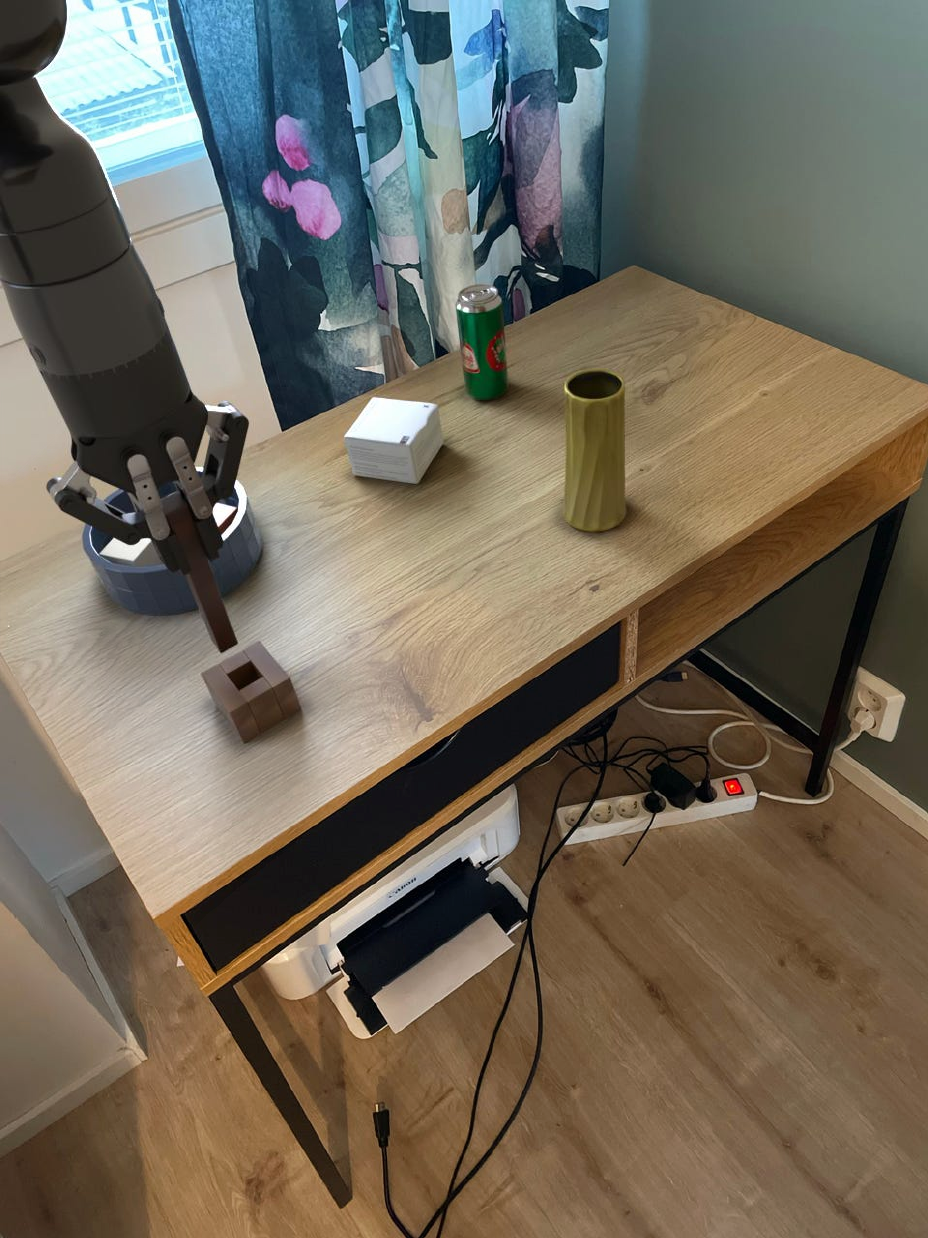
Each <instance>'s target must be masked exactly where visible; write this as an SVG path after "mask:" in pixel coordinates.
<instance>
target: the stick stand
mask: <svg viewBox="0 0 928 1238" xmlns="http://www.w3.org/2000/svg"><path fill="white" fill-rule="evenodd" d="M200 675H201V677H202V680H203V681H204V684H205V686H206V688H207V690H208V692H209V694H210V696H211V698H212V700H213V702H214V705H215V706H216V707H217V709H218V710H219V712H220V713H221V715H222V716H223V717H224V718H225V720H226V721H227V722H228V724H229V726H230V727H231V728H232V730H233V731H234V732H235V734H236V735H237V737H238V738H239V739H240V740H241V742H242V743H243V744H245V743H247V742H248V741H250V740H252V739H254V738H255V737H257V736H258V735H260V734H261V733H264V732H266V731H267V730H268V729H270V728H272V727H274V726H275V725H277V724H278V723H280V722H281V721H283V720H285V719H287V718H289V717H291V716H292V715H294V714H295V713H297V712H299V711H300V710H302V706H301V703H300V700H299V698H298V695H297V693H296V690H295V688H294V685H293V682H292V679H291V677H290V676H289V674H288V673H287V672H286V671H285V670H284V669H283V667H282V666H281V664H280V663H278V661H277V659H275V658H274V656H273V655H272V654H271V653H270V652H269V651H268V649H267V648H266V647H265V645H264V644H263V643H262V642H261V640H257V641H255V642H254V643H252V644H250V645H248V646H246V647H245V648H243V649H242V650H240V651H238V652H236V653H234V654H232V655H231V656H229V657H227V658H225V659H223V660H221V661H219V662H218V663H216V664H214V665H213V666H211V667H210V668H207V669H206V670H204V671H202V672H201V673H200Z"/></svg>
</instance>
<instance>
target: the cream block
mask: <svg viewBox="0 0 928 1238" xmlns="http://www.w3.org/2000/svg"><path fill="white" fill-rule="evenodd" d="M99 555H100V556H101V557H103V558H104V559H106V560H107V561H109V562H111V563H114V564H118V565H122V566H126V567H149V566H156V565H162V564H163V562H162V561H161V560H160V558H159V556H158V554H157V552H156V550H155V548H154V546H153V543H152V541H151V539H149V538H144V539H141V540H140V541H139V542H138V543H137V544H135V545H127V544H125V543H123V542H121V541H119V540H117V539H115V538H113V540H112V541H111V542H110V543H109V544H108V545H107V546H106V547H105V548H104V549H103V550H102V551H101V553H100V554H99Z"/></svg>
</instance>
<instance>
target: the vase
mask: <svg viewBox="0 0 928 1238" xmlns="http://www.w3.org/2000/svg"><path fill="white" fill-rule="evenodd" d="M563 387H564V411H565V415H564V416H565V419H564V420H565V436H564V437H565V439H564V447H565V448H564V449H565V450H564V451H565V452H564V453H565V468H564V495H563V496H564V499H563V508H562V513H563V518H564V520H565V522H566V523H568V524H569V525H570V526H571V527H573V528H574V529H577V530H580V531H583V532H589V533H591V532H592V533H593V532H595V533H596V532H604V531H609V530H611V529H613V528H615V527H617V526H619V525H620V524H621V523H622V522H623V521H624V519H625V518H626V516H627V505H626V501H625V498H626V496H625V494H626V417H625V416H626V415H625V413H626V411H625V408H626V407H625V406H626V405H625V403H626V402H625V401H626V396H625V395H626V380H625V379H624V377H623V376H622V374H620V373H618V372H616V371H614V370H611V369H607V368H589V369H583V370H580V371H577V372H574V373H573V374H571V375H570V376H569V377H568V378H567V379H566V380H565V382H564V386H563Z"/></svg>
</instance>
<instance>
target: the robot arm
mask: <svg viewBox="0 0 928 1238" xmlns="http://www.w3.org/2000/svg"><path fill="white" fill-rule="evenodd" d="M68 2H69V1H68V0H0V284H1V287H2V289H3V291H4V294H5V297H6V301H7V304H8V307H9V309H10V312H11V315H12V317H13V320H14V323H15V324H16V327H17V329H18V331H19V333H20V336H21V337H22V339H23V341H24V343H25V345H26V347H27V349H28V351H29V354H30V355H31V357H32V360H33V361H34V363H35V365H36V367H37V369H38V371H39V374H40V376H41V378H42V379H43V381H44V383H45V385H46V388H47V390H48V392H49V393H50V396H51V397H52V399H53V401H54V403H55V406H56V408H57V409H58V412H59V413H60V415H61V417H62V419H63V421H64V424H65V426H66V427H67V429H68V431H69V434H70V438H71V445H70V455H71V458H72V460H73V462H72V463H71V465H70V466H69V467H68V469H67V470H66V471H65V473H64V474H63V475H62V476H61V477H57V476H56V477H52V478H50V479H49V480H48V481H47V482H46V485H45V487H46V491H47V492H48V494H49V495H50V497H51V499H52V500H53V502H54V503H55V504H56V506H57V507H58V509H59V510H60V511H61V512H63V513H64V514H67V515H68V516H70V517H73V518H74V519H77V520H78V521H80V522H82V523H84V524H88V525H90V526H92V527H94V528H96V529H98V530H100V531H102V532H104V533H105V534H107V535H109V536H111V537H113V538H115V539H117V540H119V541H121V542H123V543H125V544H127V545H135V544H137V543H138V542H139V541H140V540H141V539H144V538H149V539H151V541H152V543H153V546H154V548H155V550H156V552H157V554H158V556H159V558H160V560H161V561H162V562H163V564H164V565H165V566H166V568H167V569H168V570H170V571H171V572H172V573H174V572H176V571H179V572H180V574H181V575H182V576H185V575H187V574H189V573H191V572H192V569H191V567H190V565H189V563H188V560H187V558H186V556H185V553H184V551H183V549H182V547H181V544H180V542H179V540H178V537H177V535H176V533H175V532H174V531H173V530H172V529H171V528H170V527H169V525H168V522H167V520H166V517H165V514H164V512H163V509H162V508H163V504H162V502H161V499H160V496H159V494H158V491H157V489H159V488H160V487H161V486H162V485H164V484H165V483H167V482H172V481H173V483H174V485H175V487H176V489H177V491H178V493H179V494H180V495H181V497H182V498H183V499H184V501H185V502H186V503H187V504H188V507H189V509H190V512H191V515H192V518H193V519H192V520H193V523H194V525H195V528H196V531H197V534H198V536H199V539H200V542H201V544H202V547H203V550H204V553H205V555H206V557H207V558H208V559H209V560H210V561H211V562H212V561H214V560H216V559H218V558H220V554H219V552H218V550H219V549H221V548H223V538H222V536H221V533H220V530H219V528H218V525H217V523H216V520H215V518H214V515H213V508H214V506H215V504H216V503H217V502H218V501H219V500H221V499H223V500H225V499H228V498H229V497H231V495H232V494H233V491H234V487H235V482H236V480H237V478H238V474H239V469H240V465H241V460H242V458H243V457H242V456H243V453H244V449H245V444H246V439H247V435H248V431H249V426H250V421H249V419H248V418H247V417H246V416H245V415H244V414H243V413H242V412H241V411H240V410H239V409H238V408H236V407H235V406H234V405H233V404H232V403H231V402H229V401H226V400H225V401H224V400H223V401H221V402H219V403H218V405H217V406H215V405H206V404H205V403H204V402H203V401H202V400H201V399H199V398H198V396H196V395H195V393H193V391H192V388H191V384H190V382H189V379H188V377H187V374H186V371H185V368H184V365H183V363H182V360H181V357H180V354H179V353H178V350H177V347H176V343H175V341H174V339H173V335H172V333H171V330H170V327H169V325H168V321H167V320H166V315H165V313H166V311H165V309H164V305H163V303H162V301H161V298H160V297H159V296H158V294H157V292H156V290H155V287H154V284H153V282H152V279H151V277H150V275H149V273H148V270H147V269H146V267H145V264H144V263H143V261H142V259H141V257H140V256H139V254H138V252H137V250H136V248H135V245H134V243H133V241H132V239H131V235H130V232H129V230H128V227H127V224H126V222H125V219H124V216H123V214H122V210H121V208H120V205H119V203H118V200H117V197H116V194H115V192H114V189H113V187H112V184H111V181H110V179H109V177H108V174H107V171H106V169H105V167H104V164H103V162H102V159H101V158H100V156H99V154H98V152H97V150H96V149H95V147H94V145H93V144H92V142H91V141H90V139H89V138H88V137H87V136H86V135H85V134H84V133H83V132H82V131H81V130H79V129H78V128H77V127H76V126H75V125H73V124H71V122H69V121H68V120H67V119H65V118H64V117H63V116H62V115H61V114H60V113H59V112H58V111H57V110H56V109H55V108H54V106H53V105H52V103H51V102H50V100H49V99H48V96H47V94H46V93H45V91H44V89H43V87H42V85H41V82H40V81H39V79H38V77H37V76H38V75H40V74H41V73H42V72H44V71H46V70H47V69H48V68H49V67H50V66H51V65H52V64H53V63H54V61H55V60H56V59H57V57H58V55H59V54H60V52H61V50H62V48H63V47H64V46H63V45H64V43H65V41H66V37H67V32H68V26H69V3H68ZM205 431H206V434H207V435H208V436H209V439H208V444H207V449H206V454H205V458H204V463H203V466H202V467H203V472H202V479H201V478H200V476H199V474H198V471H197V469H196V467H197V466H196V465H195V464H196V460H197V457H198V454H199V451H200V447H201V445H202V441H203V437H204V434H205ZM91 477H92V478H95V479H97V480H99V481H101V482H103V483H105V484H108V485H109V486H112V487H114V488H117V489H121V490H123V491H125V492H127V493H128V495H129V497H130V498H131V501H132V503H133V506H134V508H135V511H136V512H135V513H128V514H126V513H125V512H123V511H121V510H119V509H117V508H115V507H114V506H112V505H110V504H108V503H106V502H104V501H103V500H104V499H103V500H102V499H100V498H99V497H97V495H98V494H97V493H98V492H97V490H96V489H95V488H94V486H93V485H92V483H90V479H91Z"/></svg>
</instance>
